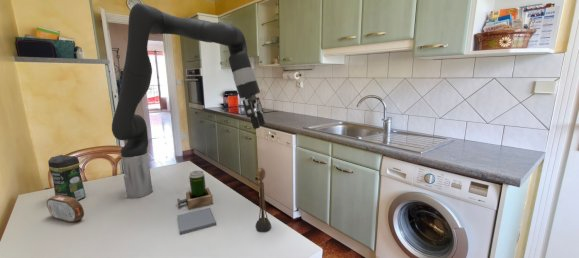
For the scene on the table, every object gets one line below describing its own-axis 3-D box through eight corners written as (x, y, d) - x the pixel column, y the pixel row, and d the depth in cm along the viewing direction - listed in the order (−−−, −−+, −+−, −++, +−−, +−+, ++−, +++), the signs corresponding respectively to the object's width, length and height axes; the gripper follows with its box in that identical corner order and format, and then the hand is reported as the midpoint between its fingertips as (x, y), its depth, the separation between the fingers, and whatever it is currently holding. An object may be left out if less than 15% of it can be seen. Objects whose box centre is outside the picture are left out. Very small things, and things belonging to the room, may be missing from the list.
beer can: (209, 202, 101) (206, 173, 98) (195, 207, 97) (191, 176, 95) (203, 197, 105) (200, 169, 102) (190, 201, 101) (187, 172, 99)
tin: (86, 220, 90) (82, 197, 88) (76, 225, 87) (71, 202, 86) (58, 214, 95) (53, 192, 93) (47, 218, 92) (42, 196, 90)
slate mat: (180, 234, 80) (179, 231, 80) (177, 218, 90) (177, 215, 90) (216, 224, 85) (216, 222, 85) (210, 210, 95) (210, 207, 95)
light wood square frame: (179, 212, 94) (178, 203, 93) (177, 202, 102) (176, 193, 101) (213, 204, 99) (212, 195, 99) (209, 195, 107) (208, 187, 106)
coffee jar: (52, 202, 104) (42, 157, 101) (73, 193, 112) (65, 152, 108) (68, 205, 101) (59, 159, 98) (89, 196, 109) (81, 153, 105)
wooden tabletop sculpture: (266, 235, 79) (263, 172, 75) (252, 233, 80) (248, 171, 76) (272, 224, 84) (270, 165, 80) (259, 222, 86) (256, 164, 82)
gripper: (242, 86, 100) (255, 126, 101) (229, 85, 86) (244, 132, 87) (260, 80, 98) (273, 121, 100) (250, 78, 84) (265, 126, 86)
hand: (259, 126), depth 94 cm, fingers open, 8 cm apart
